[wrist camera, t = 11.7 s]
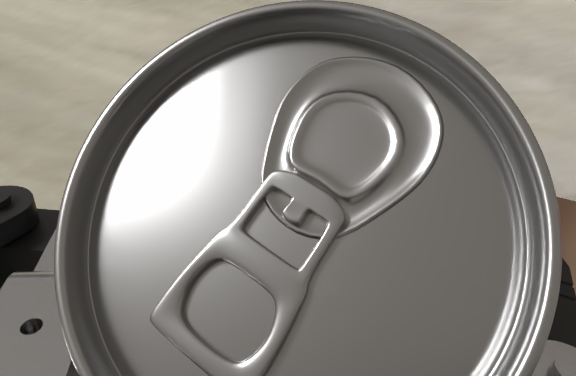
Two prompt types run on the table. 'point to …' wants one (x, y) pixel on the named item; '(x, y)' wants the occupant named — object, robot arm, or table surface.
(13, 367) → the robot arm
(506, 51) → the table surface
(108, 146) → the can
